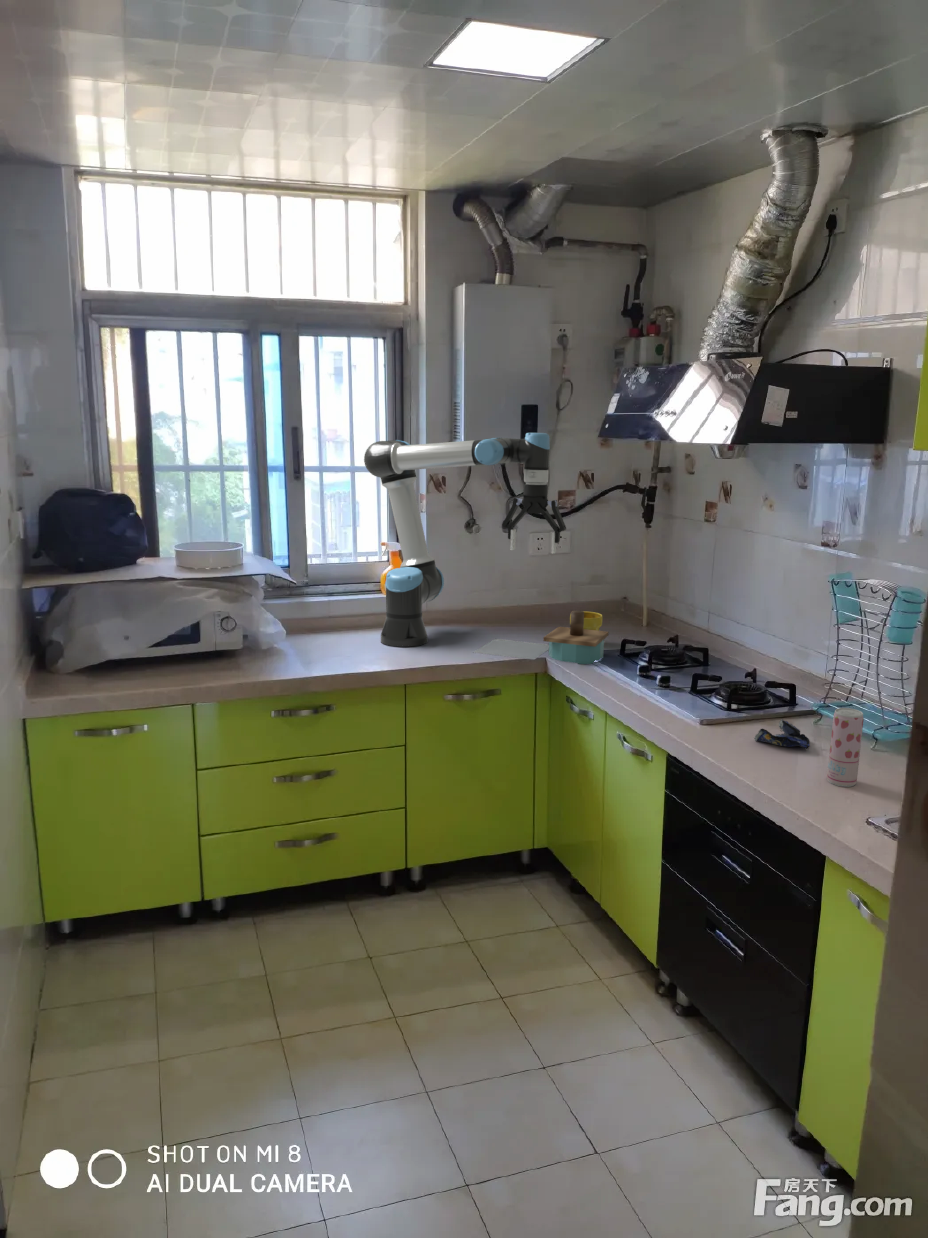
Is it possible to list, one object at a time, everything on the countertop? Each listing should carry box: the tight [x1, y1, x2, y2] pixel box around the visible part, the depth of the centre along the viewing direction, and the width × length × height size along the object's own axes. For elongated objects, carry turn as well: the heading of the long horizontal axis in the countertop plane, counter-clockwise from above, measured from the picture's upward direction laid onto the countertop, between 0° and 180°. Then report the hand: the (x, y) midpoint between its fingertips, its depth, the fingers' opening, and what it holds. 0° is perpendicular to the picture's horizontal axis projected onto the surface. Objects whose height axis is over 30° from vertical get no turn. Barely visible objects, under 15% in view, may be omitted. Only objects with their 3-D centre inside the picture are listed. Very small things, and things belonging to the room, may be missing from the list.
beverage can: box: [826, 707, 864, 788], centre depth 189 cm, size 6×6×15 cm
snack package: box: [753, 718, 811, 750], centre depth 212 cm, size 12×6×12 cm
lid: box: [542, 610, 610, 647], centre depth 284 cm, size 16×16×8 cm
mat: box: [472, 638, 549, 660], centre depth 293 cm, size 20×20×1 cm
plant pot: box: [569, 610, 604, 631], centre depth 302 cm, size 10×10×10 cm
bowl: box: [548, 639, 605, 665], centre depth 285 cm, size 16×16×6 cm
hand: (533, 551), depth 294 cm, fingers open, 13 cm apart
